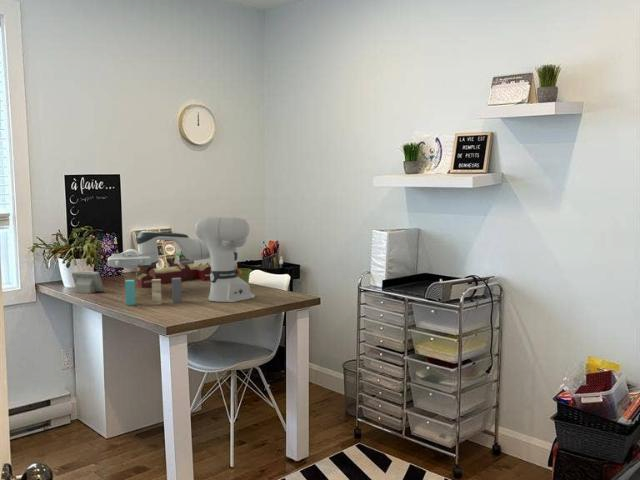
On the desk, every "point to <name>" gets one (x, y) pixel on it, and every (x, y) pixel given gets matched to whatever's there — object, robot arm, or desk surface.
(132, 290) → the teal post
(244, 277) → the plant pot
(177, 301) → the charcoal post
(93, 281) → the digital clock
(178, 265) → the toy houses
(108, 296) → the desk surface
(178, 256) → the chalk box
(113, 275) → the desk surface
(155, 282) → the birch post
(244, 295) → the robot arm
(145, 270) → the jar
